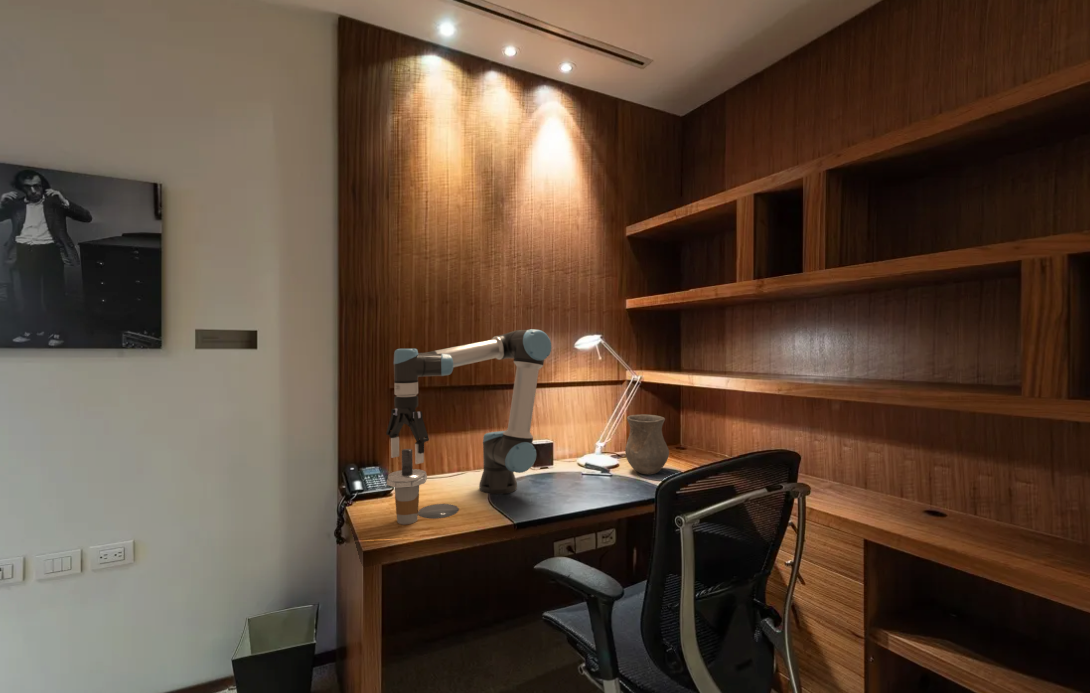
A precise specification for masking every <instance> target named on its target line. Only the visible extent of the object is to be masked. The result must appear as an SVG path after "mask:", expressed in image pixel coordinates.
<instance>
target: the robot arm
mask: <svg viewBox="0 0 1090 693" xmlns="http://www.w3.org/2000/svg"><path fill="white" fill-rule="evenodd" d="M551 352H552V341H551V339H550V337H549V336H548V334H547V333H546V332H544V331H543V330H540V329H533V328H531V329H517V330H513V331H510V332H507V333H503V334H500V335H495V336H493V337H492V338H491V339H488V340H482V341H478V342H477V341H476V342H472V343H467V344H461V345H457V346H451V347H448V348H442V349H437V350H432V351H428V352H419V351H418V349H417V348H397V349H395V350H394V352H393V353H394V354H393V374H394V375H393V377H394V378H393V379H394V395H395V396H394V399H393V400H394V408H391V411H390V412H391V413H390V418H389V422H388V425H387V428H386V432H385V433H386V436H389V438H390V458H392V459H393V458H398V457H400V437H399V434H400V432H401V430H402V428H403V426H404V425H407V427H409V428H410V430H411V433H412V435H413V438H414V440H415V442H414V450H415V451H414V453H415V454H414V457H415V458H414V460H415V462H414V463H415V465H418V464H419V465H420V464H423V463H424V462H425V461H424V460H425V459H424V458H425V443H426V442H429V441H430V438H429V435H428V432H427V428H426V425H425V420H424V418H423V411H416V409H417V408H418V407H419V396H418V394H419V377H420V378H421V377H444V376H449V375H451V374H452V373H453V370H454V368H457V367H461V366H466V365H470V364H474V363H475V364H476V363H478V362H479V363H480V362H484V361H488V360H492V359H493V360H494V359H496V360H506V359H513V364H514V365H515V367H516V368H515V375H514V376H515V377H514V383H513V392H512V397H511V398H512V399H511V404H510V411H509V418H508V425H507V429H506V430H499V431H498V430H497V431H491V432H486V433H485V434H484V435H483V438H482V439H483V440H482V449H483V451H482V453H483V456H482V457H483V458H482V459H483V461H482V462H483V471H482V474H481V478H480V481H479V484H478V485H479V486H478V487H479V491H480V492H482V493H484V494H491V495H500V494H501V495H506V494H507V495H508V494H510V493H513V492H515V491H516V490H518V484H517V479H516V476H515V473H517V474H521V473H525V472H527V471H529V470H530V469H531V468H532V467H533V466H534V464H535V462H536V459H537V450H536V448H535V446H534V445H533V442H534V436H533V434H532V433H531V428H532V421H533V420H532V419H533V412H534V406H535V399H536V393H537V384H538V376H539V371H540V370H541V369H542V368H543V367H544V365H545V364H544V363H545V362H544V361H545V360H546V359H547V358H548V357H549V356H550V355H551Z"/></svg>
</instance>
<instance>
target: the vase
mask: <svg viewBox="0 0 1090 693" xmlns="http://www.w3.org/2000/svg"><path fill="white" fill-rule="evenodd" d="M626 420H627V422H628V424H629V428H630V429H629V435H628V438H627V442H626V444H625V450H624V452H625V457H626V461H627V462H628V464H629V465H630V467H631V468H632V469H633V470H634V471H636V472H637V473H639V474H641V475H654V474H657V473H659V472H660V471H661V469H663V468H664V466H665V465H666V463H667V461H668V459H669V456H670V451H669V450H670V448H668V445H667V443H666V441H665V438H664V436H663V435H664V434H663V431H662V430H663V429H662V428H663V426H664V422H665V420H666V418H665V417H663V416H660V415H657V414H656V415H655V414H631V415H628V416H627V417H626Z"/></svg>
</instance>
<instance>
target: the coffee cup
mask: <svg viewBox="0 0 1090 693" xmlns="http://www.w3.org/2000/svg"><path fill="white" fill-rule="evenodd" d="M419 498H420V485H417V486H414V487H403V488H395V487H394V500H395V502H394V504H395V512H396V522H397V524H399V525H411V524H413V523H416V522H418V520H419V519H418V517H419V515H418V511H419V504H420V502H419V501H420V499H419Z"/></svg>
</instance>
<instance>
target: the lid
mask: <svg viewBox="0 0 1090 693" xmlns="http://www.w3.org/2000/svg"><path fill="white" fill-rule="evenodd" d="M427 479H428V475H427V471H425V470H423V469H419V468H418V469H417V468H413V449H412V448H404V449H401V470H396V471H393V472H391V473H389V474H388V475H387V479H386V485H387V486H390V487H393V488H394V489H395V488H403V487H414V486H417V485H419V486H420V485H424V484H425V483H426V482H427Z"/></svg>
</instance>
